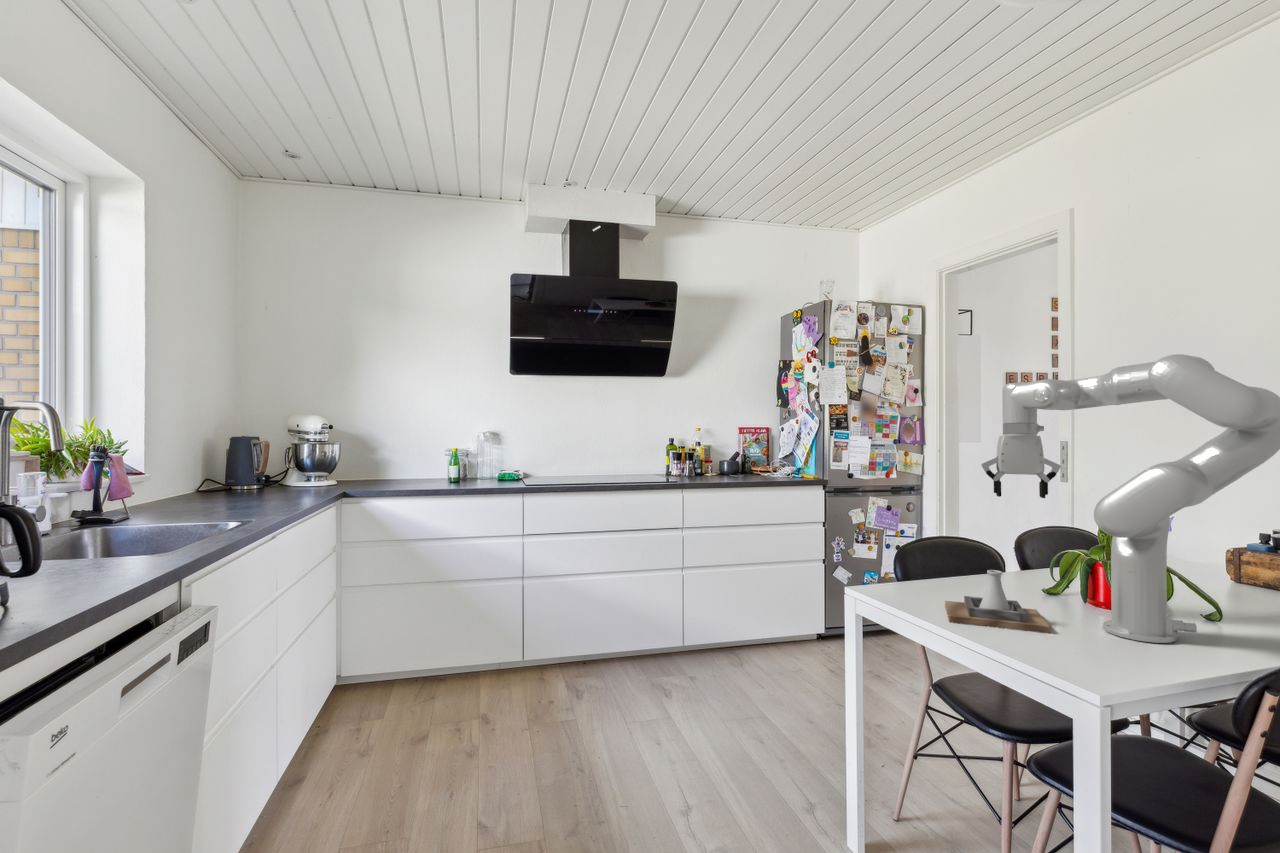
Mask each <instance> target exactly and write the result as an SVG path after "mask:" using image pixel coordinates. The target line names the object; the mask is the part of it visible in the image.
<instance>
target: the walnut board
mask: <svg viewBox="0 0 1280 853" xmlns="http://www.w3.org/2000/svg"><path fill="white" fill-rule="evenodd" d="M963 597H964V598H963V599H964V602H962V601H952V600H951V601H950V600H945V601H944V608H945V612H946V615H948V616H947V619H948V622H949V623H951V622H953V624H960V623H961V624H962V625H969V626H970V625H971V626H982V627H987V626H989V628H996V627H998V629H1005V628H1007V629H1008V630H1015V631H1024V632H1025V631H1026V632H1034V633H1035V632H1036V633H1044V634H1051V626H1050V625H1049V624H1048V623H1047V621H1046V620H1045V619H1044V617H1043V616H1042V614H1040V612H1039V611H1038V610H1037V609H1036V608H1035V609H1034V608H1033V609H1032V608H1024V607H1022V606H1021V605H1020V603H1019V602H1018V601H1017V600H1011V599H1007V602H1008V604H1009V607H1010V609H1011V611H1007V610H997V609H987V608H979V606H980V604H981V601H982V599H983V597H980V596H979V597H978V596H970V595H969V596H968V595H964V596H963Z"/></svg>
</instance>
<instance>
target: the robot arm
mask: <svg viewBox="0 0 1280 853" xmlns="http://www.w3.org/2000/svg"><path fill="white" fill-rule="evenodd" d="M1001 396H1002V397H1001V398H1002V401H1001V402H1002V435H999V436H998V439H997V440H998V441H997V446H996V457H994V458H992V459H989V460H986V461H984V462H983V463H981V464H980V465H981V468H982V469H983V471H984V472H985V474H986V475H987V476H988V477H989V478H990V479H992V481H993V493H994V494H996V497H1002V481H1001V478H1002V477H1003V476H1004V475H1030V476H1031V475H1032V476H1037V477H1038V478H1039V479H1040V481H1039V484H1038V485H1039V486H1038V488H1039V491H1038V492H1039V497H1040V498H1041V499H1046V495H1047V496H1048V494H1049V483H1050V481H1052V479H1053V478H1055V477H1056V476H1057V474H1058V472H1059V471H1060V469H1061V468H1062V466H1061V465H1060V464H1058V463H1057V462H1054V461H1052V460H1050V459H1047V458H1046V457H1045V455H1044V449H1043V448H1044V446H1043V443H1042V438H1041V435H1038V434H1039V432H1044V431H1045V427H1044V425H1039V423H1038V410H1045V411H1073V410H1081V409H1089V408H1098V407H1099V408H1100V407H1109V406H1120V405H1128V404H1134V403H1135V404H1136V403H1144V402H1152V401H1160V400H1161V401H1163V400H1170V401H1172V402H1174V403H1176V404H1177V405H1179V406H1181V407H1183V408H1185V409H1187V410H1188V411H1190V412H1192V413H1193V414H1195V415H1197V416H1199V417H1201V418H1203V419H1204V420H1206V421H1208V422H1209V423H1212V424H1214V425H1216V426H1219V427H1221V428H1224V431H1223V432H1221V433H1220V434H1218V435H1217V436H1215V437H1213V438H1210V440H1208V441H1206V442H1204V443H1203V444H1202V445H1201V446H1199V447H1198V448H1196V449H1195V450H1192V452H1190V453H1188V454H1186V455H1185V456H1183V457H1181V458H1179V459H1177V460H1175V461H1166V462H1161V463H1156V464H1155V465H1152V466H1149V467H1147V468H1145V469H1144V470H1143V471H1140V472H1139V473H1137V474H1136V475H1134V476H1133V477H1132V478H1130V479H1129V480H1127V481H1125V482H1123V484H1121V485H1119V486H1118V487H1117V488H1115V489H1114V490H1112V491H1111V492H1109V493H1107V494H1106V495H1104V496H1103V497H1102V498H1101V499H1100V500H1099V501H1098V502H1097V503H1096V505H1095V507H1094V508H1093V519H1094V522H1095V524H1096V526H1097V527H1098V529H1099V530H1101V531H1102V532H1104V533H1105V534H1107V535H1108V536H1111V537H1112V538H1111V545H1110V546H1111V547H1110V586H1111V587H1110V591H1111V592H1110V595H1111V596H1110V600H1111V619H1110V620H1105V621H1103V623H1102V627H1103V628H1102V629H1103V630H1105V632H1107V633H1110V634H1112V635H1114V636H1117V637H1121V638H1124V639H1128V640H1133V641H1137V642H1144V643H1145V642H1146V643H1154V644H1172V643H1174V642H1176V641H1177V640H1178V634H1177V633H1178V632H1179V631H1180V632H1187V633H1192V634H1193V633H1197V631H1198V627H1197V625H1196V623H1193V622H1184V621H1183V620H1177V619H1175V620H1174V619H1172V618H1171V617H1169V616H1168V593H1167V592H1168V591H1167V589H1168V588H1167V584H1168V583H1167V582H1168V581H1167V580H1168V579H1167V578H1168V577H1167V576H1168V575H1167V567H1168V564H1167V562H1168V561H1167V560H1168V559H1167V558H1168V554H1167V552H1168V541H1169V540H1168V537H1169V531H1170V522H1171V520H1170V519H1171V516H1172V515H1174V514H1176V513H1177V512H1179V511H1180V510H1181V511H1182V509H1184V508H1190V507H1194V506H1196V505H1199V504H1202V503H1203V502H1205V501H1206V500H1208V499H1209V498H1210V497H1212V496H1213V495H1216V494H1217V493H1218V492H1220V491H1222V490H1223V489H1225V488H1226V487H1228V486H1229V485H1231V484H1233V483H1234V482H1236V481H1238V480H1239V479H1241V478H1243V477H1244V476H1246V475H1247V474H1249V473H1250V472H1252V471H1253V470H1256V468H1259V467H1260V466H1261V465H1263V464H1264V463H1266V462H1267V461H1268V460H1270V459H1271V458H1272V457H1273V456H1275V455H1276V454H1277V453H1278V452H1279V451H1280V396H1279V395H1278V394H1276V393H1275V392H1273V391H1271V390H1269V389H1266V388H1262V387H1257V386H1248V385H1246V384H1244V383H1242V382H1240V381H1237V380H1235V379H1233V378H1232V377H1229V376H1227V375H1224V374H1223V373H1220V372H1219V371H1217V370H1215V367H1214V366H1213V364H1212V363H1211V362H1209V361H1208V360H1206V359H1204V358H1202V357H1199V356H1193V355H1189V354H1180V353H1179V354H1178V353H1177V354H1170V355H1166V356H1163V357H1161V358H1159V359H1157V360H1155V361H1151V362H1145V363H1138V364H1131V365H1124V366H1118V367H1115V368H1112V369H1111V370H1110V371H1109V372H1107V373H1105V374H1102V375H1101V374H1100V375H1098V376H1097V375H1096V376H1091V377H1085V378H1079V379H1078V378H1077V379H1071V380H1070V379H1069V380H1063V379H1052V378H1049V379H1048V378H1047V379H1039V380H1034V381H1030V382H1028V381H1025V382H1024V381H1022V382H1020V381H1019V382H1008V383H1006V384H1004V385H1003V386H1002V394H1001ZM994 464H995V465H996V466H995V468H996V471H997V472H996V473H994V472H993V471H992V470H991V468H990V466H993V465H994ZM1045 465H1046V466H1049V467H1051V470H1050V471H1049V472H1048V473H1047V474H1045V473H1044V472H1045Z"/></svg>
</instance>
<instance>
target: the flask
mask: <svg viewBox="0 0 1280 853" xmlns="http://www.w3.org/2000/svg"><path fill="white" fill-rule="evenodd" d="M986 573H987V575H988V581H987V586H986V589H985V591H984V594H983V597H982V598H983V599H982V601H981V604H980V606H979V608H987V609H997V610H1007V611H1011V609H1010V607H1009V604H1008V602H1007V600H1008V599H1007V597H1006V593H1005V591H1004V588H1003V585H1002V580H1001V579H1002V575H1003V571H1002V570H1001V571H1000V570H996V569H987V571H986Z"/></svg>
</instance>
